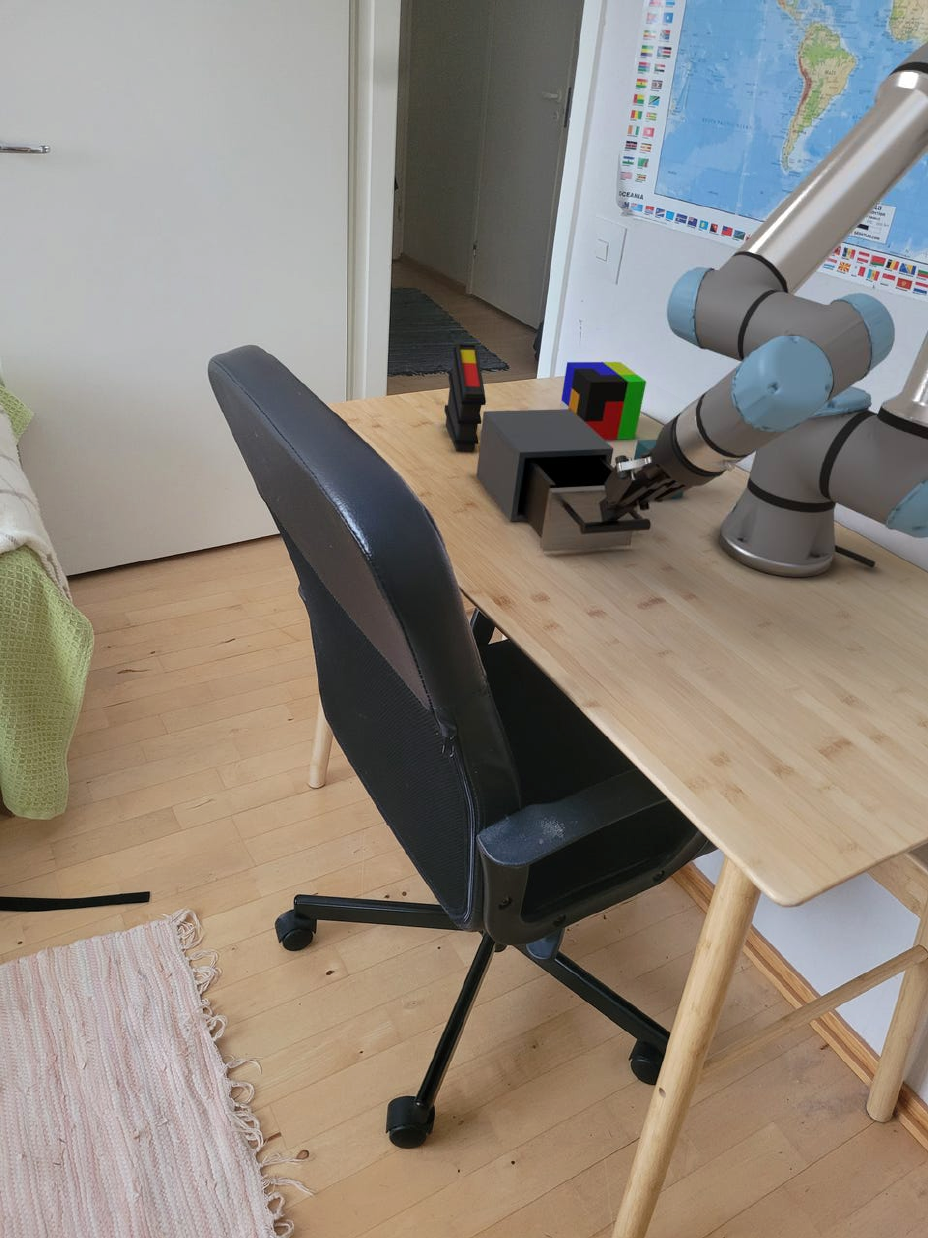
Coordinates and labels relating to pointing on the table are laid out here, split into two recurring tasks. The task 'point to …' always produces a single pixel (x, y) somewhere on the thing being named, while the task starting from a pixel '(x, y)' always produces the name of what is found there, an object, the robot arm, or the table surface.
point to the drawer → (573, 504)
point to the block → (644, 446)
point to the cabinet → (529, 448)
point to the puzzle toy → (604, 397)
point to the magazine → (465, 398)
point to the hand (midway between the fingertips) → (606, 512)
